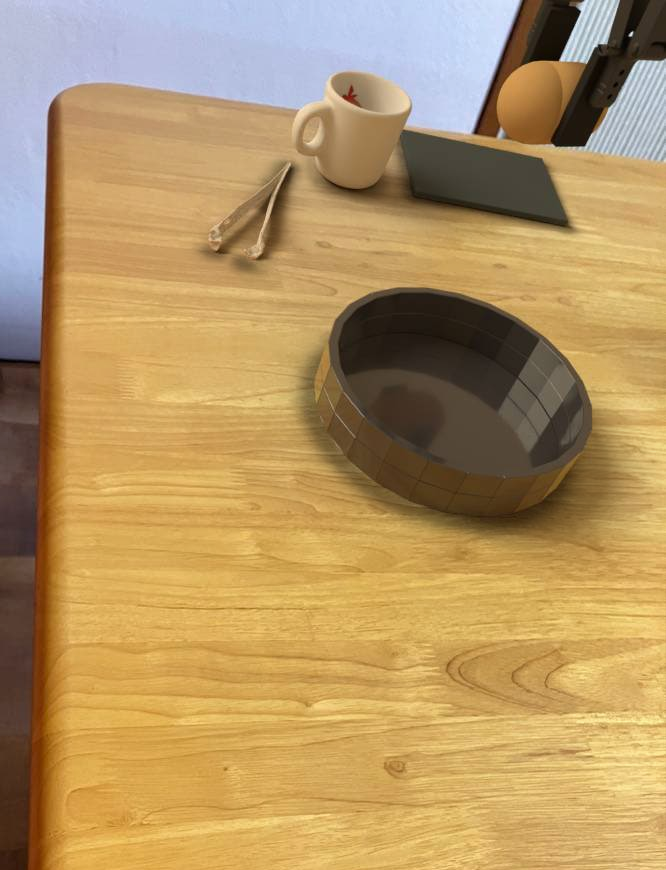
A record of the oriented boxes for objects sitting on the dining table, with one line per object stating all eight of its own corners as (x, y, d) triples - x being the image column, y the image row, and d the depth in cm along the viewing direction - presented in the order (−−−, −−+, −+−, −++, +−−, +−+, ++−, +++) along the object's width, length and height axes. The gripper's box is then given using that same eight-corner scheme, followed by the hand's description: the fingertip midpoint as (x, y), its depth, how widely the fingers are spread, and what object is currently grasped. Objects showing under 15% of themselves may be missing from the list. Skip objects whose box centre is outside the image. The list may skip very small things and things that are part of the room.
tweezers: (257, 267, 72) (262, 245, 71) (203, 248, 73) (207, 225, 71) (309, 185, 84) (315, 165, 83) (263, 169, 85) (268, 148, 83)
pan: (532, 353, 73) (557, 310, 70) (590, 537, 61) (624, 495, 58) (306, 315, 70) (321, 268, 66) (320, 502, 58) (339, 455, 54)
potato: (561, 120, 69) (595, 48, 65) (600, 158, 66) (638, 86, 62) (471, 120, 66) (501, 44, 62) (509, 160, 63) (542, 84, 59)
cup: (299, 201, 80) (323, 115, 74) (265, 153, 84) (284, 68, 78) (399, 197, 84) (428, 115, 78) (362, 151, 88) (387, 70, 82)
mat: (539, 163, 95) (542, 158, 95) (565, 226, 88) (568, 221, 87) (399, 134, 92) (401, 128, 92) (413, 196, 85) (415, 190, 85)
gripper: (589, -359, 50) (443, 58, 68) (811, -260, 41) (574, 194, 59) (685, -333, 53) (520, 61, 71) (913, -235, 44) (657, 191, 62)
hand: (545, 120), depth 65 cm, fingers closed on potato, 5 cm apart
